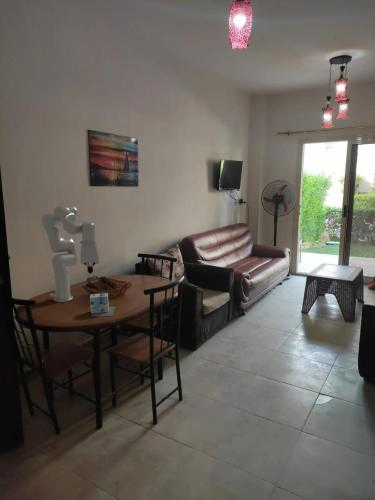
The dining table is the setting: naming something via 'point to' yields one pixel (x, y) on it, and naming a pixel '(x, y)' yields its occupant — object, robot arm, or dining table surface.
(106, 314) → the mat
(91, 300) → the light bulb box
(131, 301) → the dining table surface
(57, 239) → the robot arm
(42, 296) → the dining table surface
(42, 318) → the dining table surface
